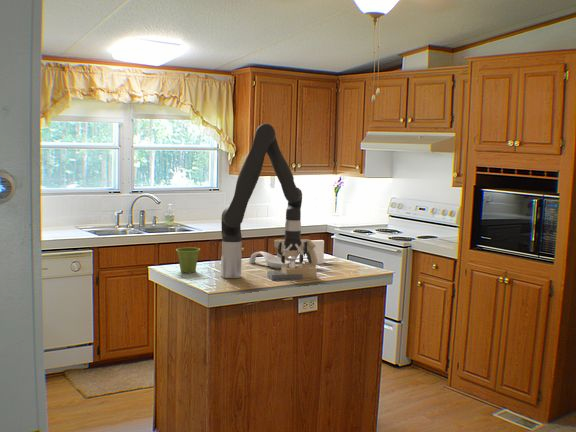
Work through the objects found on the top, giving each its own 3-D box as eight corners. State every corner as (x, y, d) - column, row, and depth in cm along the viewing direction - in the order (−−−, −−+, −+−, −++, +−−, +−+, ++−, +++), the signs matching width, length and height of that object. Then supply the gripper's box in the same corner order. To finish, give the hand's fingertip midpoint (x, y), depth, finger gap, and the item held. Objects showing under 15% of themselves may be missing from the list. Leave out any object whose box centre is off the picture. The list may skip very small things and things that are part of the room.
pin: (289, 278, 284) (289, 257, 283) (286, 276, 288) (287, 256, 287) (296, 278, 285) (297, 257, 284) (294, 276, 289) (295, 256, 288)
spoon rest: (293, 267, 312) (293, 254, 311) (280, 271, 303) (280, 257, 302) (257, 262, 326) (257, 249, 325) (244, 265, 316) (244, 251, 315)
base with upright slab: (319, 260, 333) (320, 239, 332) (326, 263, 325) (326, 241, 324) (304, 261, 330) (305, 239, 329) (311, 264, 322) (311, 242, 320)
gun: (318, 268, 311) (316, 239, 310) (315, 269, 308) (313, 240, 307) (278, 266, 323) (276, 239, 322) (275, 267, 320) (273, 240, 319)
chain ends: (271, 280, 279) (272, 269, 279) (267, 276, 288) (267, 266, 287) (316, 278, 285) (316, 268, 285) (310, 274, 294) (310, 264, 293)
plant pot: (190, 268, 303) (190, 246, 302) (204, 272, 294) (204, 249, 293) (170, 271, 295) (170, 248, 293) (184, 275, 286) (184, 252, 285)
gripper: (280, 230, 278) (279, 264, 280) (309, 230, 282) (308, 264, 284) (276, 228, 285) (275, 261, 287) (304, 228, 289) (303, 261, 291)
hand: (292, 262), depth 286 cm, fingers open, 8 cm apart
